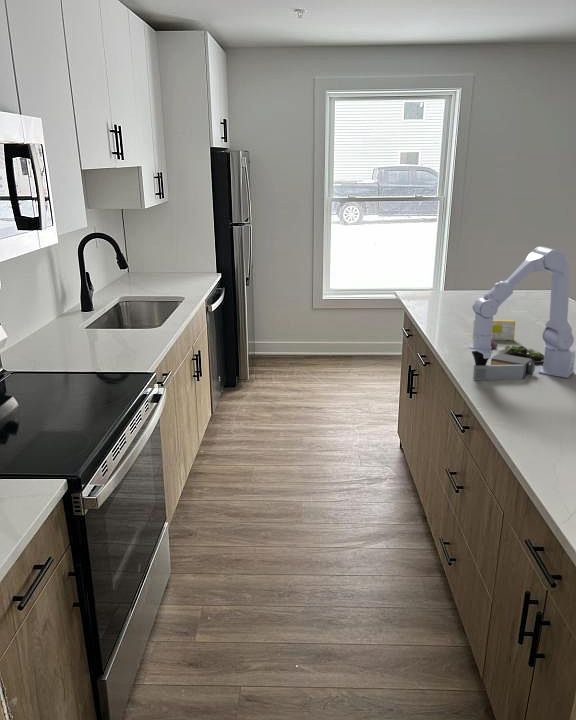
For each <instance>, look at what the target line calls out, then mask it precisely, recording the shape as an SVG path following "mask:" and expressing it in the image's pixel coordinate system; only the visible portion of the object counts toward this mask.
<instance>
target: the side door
mask: <svg viewBox="0 0 576 720" xmlns="http://www.w3.org/2000/svg"><path fill="white" fill-rule="evenodd" d="M525 372H526V365H525V364H520V365H491V364H486V365H473V372H472V373H473V374H472V379H473V380H474V381H479V380H480V381H482V380H483V381H488V380H495V381H496V380H525V379H526V377H525Z"/></svg>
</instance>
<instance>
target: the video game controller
mask: <svg viewBox="0 0 576 720" xmlns="http://www.w3.org/2000/svg"><path fill="white" fill-rule="evenodd" d="M497 348H498V345H497V342H495V340H492V339H491V349H497Z"/></svg>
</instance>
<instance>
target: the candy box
mask: <svg viewBox="0 0 576 720" xmlns="http://www.w3.org/2000/svg"><path fill="white" fill-rule="evenodd" d="M474 326H475V319H473V329H472V330H473V331H472V339H473V340H474ZM515 330H516V320H507V319H506V320H505V319H504V320H501V319H493V326H492V340H493V341H506V340H510V341H511V342H514V341H515ZM510 341H509V342H510Z"/></svg>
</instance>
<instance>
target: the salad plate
mask: <svg viewBox="0 0 576 720" xmlns="http://www.w3.org/2000/svg"><path fill="white" fill-rule="evenodd" d="M499 353H500V354H506V355H512V356H518V357H524V358H530V359H532V363H534V364H535V366H539V365H543V364H544V355H545V353H542V352H540V351H539V350H537V349H535V348H534V349H533V348H526V347H525V346H524V345H517V346H515V345H514V344H512V346H511V347H510V346H509V345H505V346H504V349H498V350H497V351H496V355H497V354H499ZM527 353H529V354H527Z"/></svg>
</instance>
